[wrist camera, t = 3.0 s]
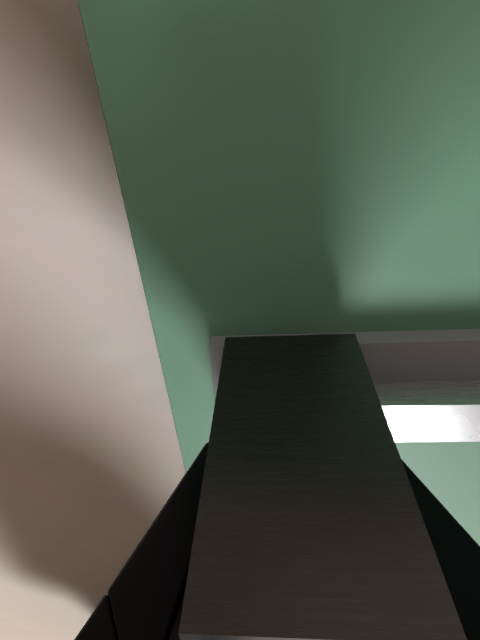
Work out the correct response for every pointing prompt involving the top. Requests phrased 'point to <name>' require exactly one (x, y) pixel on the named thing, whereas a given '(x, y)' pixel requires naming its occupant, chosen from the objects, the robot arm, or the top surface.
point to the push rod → (318, 498)
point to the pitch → (303, 189)
